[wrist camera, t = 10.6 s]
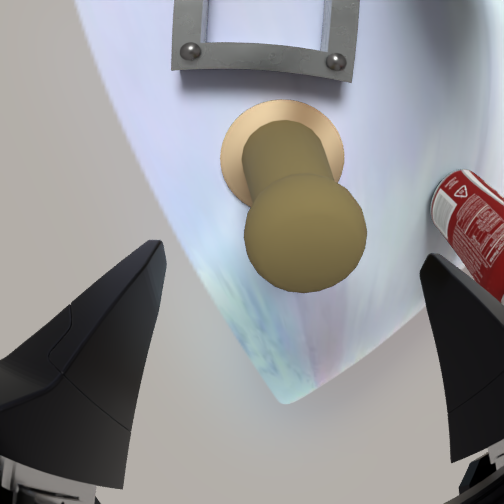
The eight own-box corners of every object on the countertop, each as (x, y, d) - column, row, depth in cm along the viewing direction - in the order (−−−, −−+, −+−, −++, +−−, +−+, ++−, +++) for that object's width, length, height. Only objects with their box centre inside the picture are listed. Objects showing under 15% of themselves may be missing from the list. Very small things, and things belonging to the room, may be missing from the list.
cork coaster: (351, 109, 16) (353, 110, 16) (330, 215, 22) (331, 218, 22) (222, 95, 16) (221, 96, 16) (220, 208, 22) (219, 211, 21)
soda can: (417, 223, 22) (481, 323, 13) (439, 158, 18) (532, 244, 9) (462, 229, 23) (522, 313, 13) (484, 173, 18) (563, 249, 9)
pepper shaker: (331, 186, 20) (385, 294, 11) (255, 205, 21) (257, 323, 12) (315, 111, 16) (385, 171, 8) (229, 133, 17) (205, 215, 9)
